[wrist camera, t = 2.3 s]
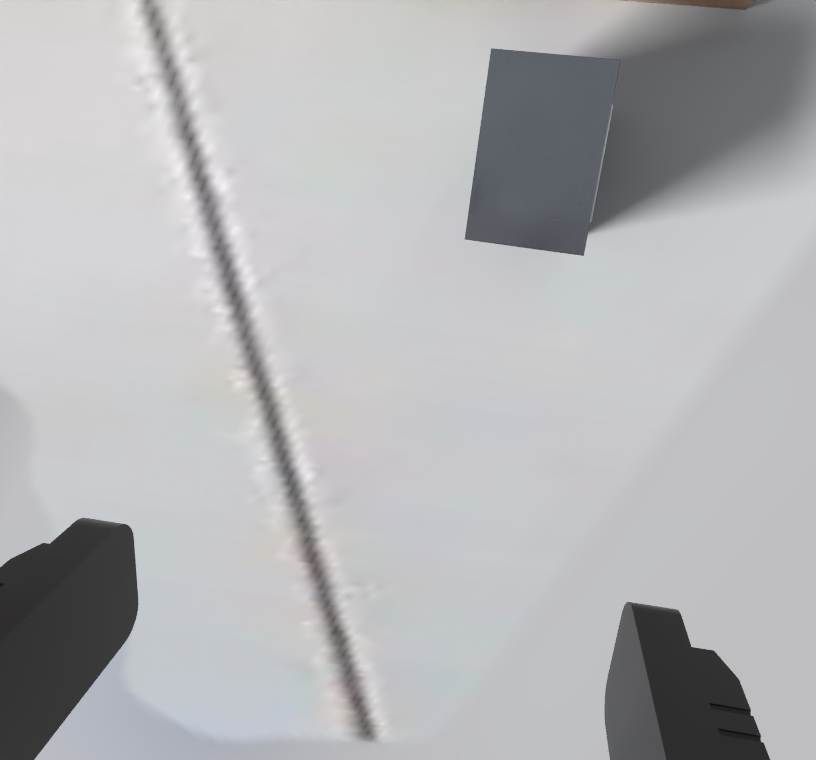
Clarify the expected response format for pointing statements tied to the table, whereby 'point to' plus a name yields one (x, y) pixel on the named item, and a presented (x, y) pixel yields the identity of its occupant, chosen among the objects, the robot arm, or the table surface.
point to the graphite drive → (541, 149)
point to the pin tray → (705, 3)
